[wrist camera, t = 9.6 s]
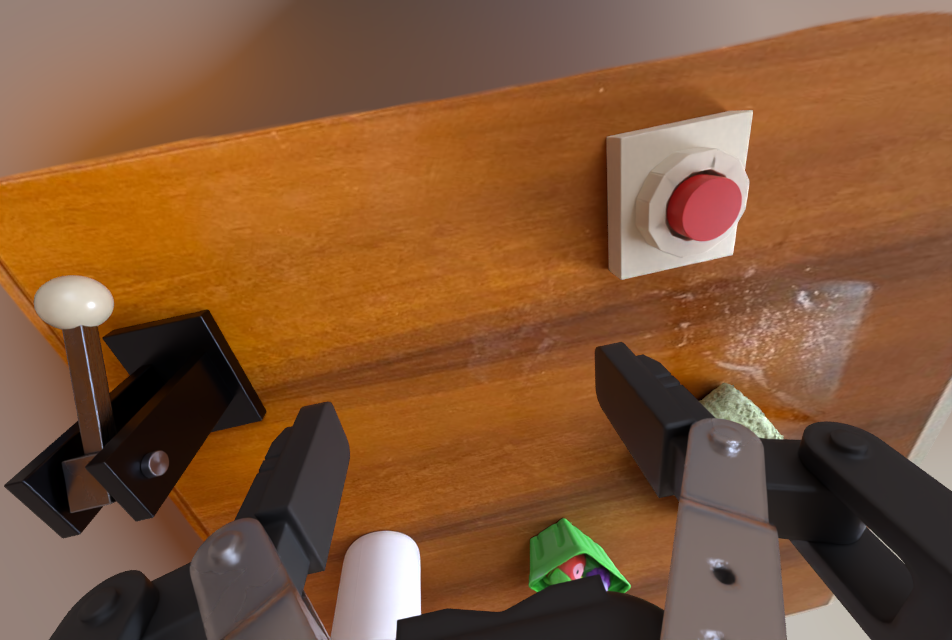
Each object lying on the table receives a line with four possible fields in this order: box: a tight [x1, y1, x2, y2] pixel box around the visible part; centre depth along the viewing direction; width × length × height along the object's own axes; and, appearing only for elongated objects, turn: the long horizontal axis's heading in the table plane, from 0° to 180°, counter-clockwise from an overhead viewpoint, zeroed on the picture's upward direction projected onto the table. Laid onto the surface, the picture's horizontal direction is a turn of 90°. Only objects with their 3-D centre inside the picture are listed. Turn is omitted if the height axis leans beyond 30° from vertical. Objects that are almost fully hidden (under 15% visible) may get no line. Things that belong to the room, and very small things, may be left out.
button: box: [667, 174, 742, 241], centre depth 25 cm, size 4×4×2 cm
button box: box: [606, 110, 753, 280], centre depth 27 cm, size 10×9×4 cm
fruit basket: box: [529, 518, 631, 593], centre depth 42 cm, size 11×9×11 cm
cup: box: [330, 531, 421, 640], centre depth 40 cm, size 8×12×10 cm
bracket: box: [4, 310, 266, 538], centre depth 25 cm, size 10×7×12 cm
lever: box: [34, 275, 117, 513], centre depth 22 cm, size 13×3×3 cm
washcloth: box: [699, 383, 783, 439], centre depth 42 cm, size 13×18×3 cm
